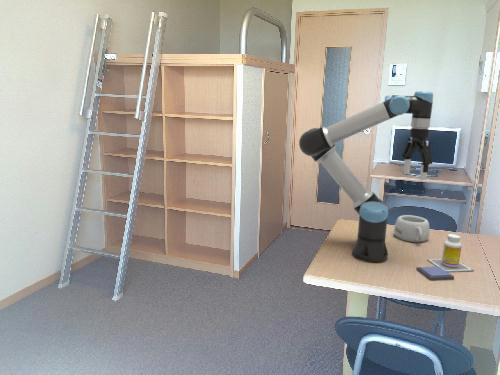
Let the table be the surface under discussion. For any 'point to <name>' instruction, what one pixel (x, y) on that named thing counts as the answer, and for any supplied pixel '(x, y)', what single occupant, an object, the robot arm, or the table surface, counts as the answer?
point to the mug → (412, 228)
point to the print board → (450, 269)
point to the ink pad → (435, 273)
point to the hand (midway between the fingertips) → (414, 176)
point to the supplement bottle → (451, 251)
